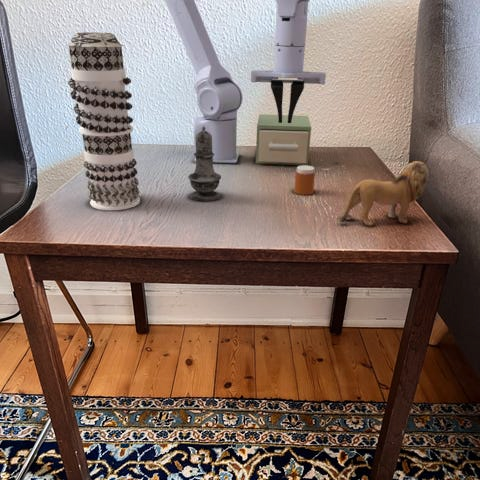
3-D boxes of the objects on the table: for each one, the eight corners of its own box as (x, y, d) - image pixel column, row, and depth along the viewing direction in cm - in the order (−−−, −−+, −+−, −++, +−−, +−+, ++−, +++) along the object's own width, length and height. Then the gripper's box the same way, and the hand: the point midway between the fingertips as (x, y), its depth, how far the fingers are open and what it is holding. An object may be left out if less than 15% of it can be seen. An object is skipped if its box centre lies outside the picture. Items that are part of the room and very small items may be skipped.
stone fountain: (225, 193, 86) (226, 124, 79) (214, 203, 81) (213, 130, 75) (196, 189, 88) (194, 121, 81) (183, 199, 83) (179, 127, 76)
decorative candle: (112, 190, 86) (91, 31, 72) (153, 199, 83) (139, 33, 69) (76, 204, 79) (45, 32, 66) (119, 214, 76) (96, 34, 62)
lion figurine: (406, 210, 80) (418, 156, 75) (426, 221, 76) (440, 165, 71) (331, 219, 76) (338, 163, 71) (348, 231, 72) (357, 172, 67)
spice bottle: (294, 194, 86) (296, 169, 84) (293, 188, 89) (295, 164, 87) (313, 195, 86) (316, 170, 84) (312, 189, 89) (315, 165, 87)
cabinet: (307, 165, 104) (311, 126, 99) (255, 163, 104) (257, 125, 100) (304, 151, 115) (307, 115, 111) (257, 149, 116) (259, 114, 111)
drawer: (306, 168, 98) (309, 137, 95) (257, 166, 99) (258, 135, 95) (303, 149, 112) (305, 121, 109) (260, 148, 113) (261, 120, 109)
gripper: (250, 45, 86) (248, 124, 93) (330, 47, 85) (321, 127, 92) (252, 44, 92) (250, 118, 99) (326, 46, 91) (319, 120, 98)
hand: (284, 122), depth 96 cm, fingers closed
